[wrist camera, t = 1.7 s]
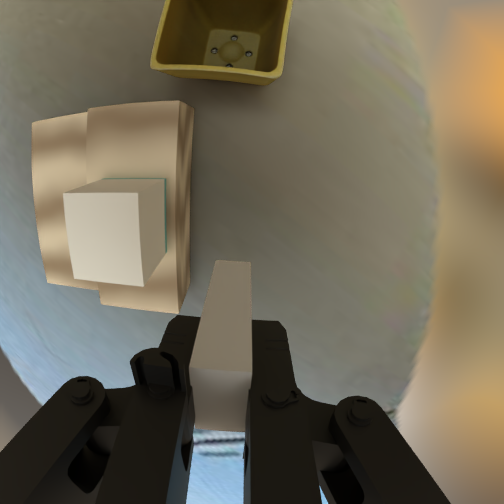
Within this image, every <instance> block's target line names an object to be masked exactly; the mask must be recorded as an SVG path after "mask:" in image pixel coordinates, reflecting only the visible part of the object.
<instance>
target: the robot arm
mask: <svg viewBox="0 0 504 504" xmlns="http://www.w3.org/2000/svg"><path fill="white" fill-rule="evenodd" d="M130 365H131V369H132V373H133V376H134V380H135V384H136V385H134V386H131V387H126V388H115V389H104V387H103V385H102V383H101V382H99V381H98V380H97V379H95V378H92V377H89V376H79V377H76V378H72V379H70V380H69V381H67V382H66V383H65V384H63V386H62V387H61V388H60V389H59V390H58V391H57V392H56V393H55V394H54V395H53V396H52V397H51V398H50V399H49V400H48V401H47V402H46V403H45V404H44V405H43V406H42V407H41V408H40V409H39V411H38V412H37V413H36V414H35V415H34V416H33V417H32V418H31V419H30V420H29V421H28V422H27V424H25V426H24V427H23V428H22V429H21V430H20V431H19V432H18V433H17V434H16V435H15V436H14V438H13V439H12V440H11V441H10V442H9V443H8V444H7V445H6V446H5V448H4V449H3V450H2V451H1V452H0V504H186V499H187V491H188V483H189V475H190V468H191V460H192V453H193V446H194V441H193V429H194V423H195V428H197V429H207V430H218V431H232V432H245V445H244V453H243V459H244V504H322V500H321V493H320V487H321V489H322V491H323V493H324V495H325V497H326V500H327V502H328V504H451V503H450V502H449V500H448V499H447V498H446V496H445V495H444V493H443V492H442V491H441V489H440V488H439V486H438V485H437V484H436V482H435V481H434V479H433V478H432V477H431V475H430V474H429V472H428V471H427V470H426V468H425V467H424V465H423V464H422V463H421V461H420V460H419V459H418V457H417V456H416V455H415V453H414V452H413V450H412V449H411V447H410V446H409V445H408V443H407V442H406V441H405V439H404V438H403V437H402V435H401V434H400V432H399V431H398V430H397V428H396V427H395V426H394V424H393V423H392V421H391V420H390V419H389V417H388V416H387V415H386V413H385V412H384V411H383V409H382V408H381V407H380V406H379V405H378V404H377V403H376V402H375V401H373V400H371V399H369V398H367V397H362V396H351V397H347V398H345V399H343V400H341V401H340V402H339V403H338V404H337V406H336V405H331V404H326V403H321V402H318V401H314V400H312V399H310V398H308V397H306V396H305V395H304V394H303V393H302V392H301V390H300V389H299V388H297V385H296V383H295V378H294V372H293V366H292V361H291V355H290V351H289V344H288V338H287V333H286V329H285V328H284V327H283V326H282V325H281V323H280V322H279V321H267V320H252V319H251V262H240V261H225V260H216V262H215V265H214V269H213V273H212V277H211V280H210V284H209V288H208V292H207V296H206V300H205V304H204V307H203V311H202V315H201V317H193V316H183V315H177V316H176V317H175V318H173V319H172V320H171V321H170V322H169V323H168V325H167V328H166V330H165V334H164V335H163V338H162V340H161V343H160V345H159V348H150V349H146V350H142V351H141V352H139V353H137V354H136V355H134V357H133V358H132V359H131V360H130ZM319 485H320V487H319Z"/></svg>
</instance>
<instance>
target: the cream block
mask: <svg viewBox="0 0 504 504" xmlns="http://www.w3.org/2000/svg"><path fill="white" fill-rule="evenodd" d="M63 201H64V212H65V222H66V231H67V238H68V245H69V252H70V258H71V264H72V269H73V275H74V279H81V280H88V281H97V282H105V283H113V284H122V285H132V286H141V287H144V286H145V284H146V283H147V281H148V280H149V278H150V277H151V275H152V274H153V272H154V270H155V269H156V267H157V266H158V264H159V263H160V261H161V260H162V258H163V257H164V256H165V254H166V253H167V232H166V178H104V179H101V180H98V181H95V182H92V183H89V184H86V185H84V186H81V187H78V188H76V189H73V190H70V191H68V192H65V193H63Z"/></svg>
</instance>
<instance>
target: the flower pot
mask: <svg viewBox="0 0 504 504" xmlns="http://www.w3.org/2000/svg"><path fill="white" fill-rule="evenodd" d="M292 5H293V0H165V4H164V7H163V10H162V14H161V18H160V22H159V26H158V29H157V33H156V37H155V41H154V45H153V49H152V54H151V60H150V67H151V68H152V69H154V70H157V71H160V72H163V73H166V74H169V75H172V76H175V77H179V78H197V79H214V80H225V81H234V82H242V83H249V84H256V85H263V86H264V85H269V84H270V83H272V82H273V81H275V80H276V79H277V78H279V77H280V76H281V74H282V72H283V65H284V57H285V48H286V41H287V34H288V26H289V21H290V16H291V10H292ZM233 36H237V40H232V39H231V38H232V37H233ZM214 48H216V49H217V50H218V51H217V53H212V49H214ZM246 52H251V53H252V55H251V56H249V57H248V56H246ZM228 64H230V65H232V68H231V67H226V65H228Z"/></svg>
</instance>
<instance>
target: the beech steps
mask: <svg viewBox="0 0 504 504" xmlns="http://www.w3.org/2000/svg"><path fill="white" fill-rule="evenodd" d="M193 122H194V108H192V107H190V106H189V105H187V104H185V103H183V102H181V101H156V102H141V103H129V104H119V105H110V106H102V107H94V108H88V112H84V113H78V114H72V115H66V116H61V117H56V118H51V119H46V120H41V121H37V122H33V123H32V179H33V194H34V205H35V214H36V222H37V229H38V236H39V242H40V248H41V254H42V259H43V264H44V269H45V273H46V278H47V282H48V283H53V284H59V285H65V286H72V287H79V288H86V289H93V290H99V295H100V300H101V304H103V305H110V306H117V307H125V308H132V309H140V310H149V311H157V312H167V313H176V314H179V312H180V309H181V306H182V304H183V301H184V298H185V295H186V293H187V290H188V288H189V285H190V185H191V158H192V138H193ZM104 178H166V232H167V253H166V254H165V256H164V257H163V258H162V260H161V261H160V263H159V264H158V266H157V267H156V269H155V270H154V272H153V274H152V275H151V277H150V278H149V280H148V281H147V283H146V284H145V286H144V287H141V286H132V285H122V284H113V283H105V282H97V281H88V280H81V279H74V275H73V269H72V264H71V258H70V252H69V245H68V238H67V231H66V222H65V212H64V201H63V193H65V192H68V191H70V190H73V189H76V188H78V187H81V186H84V185H86V184H89V183H92V182H95V181H98V180H101V179H104Z"/></svg>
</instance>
